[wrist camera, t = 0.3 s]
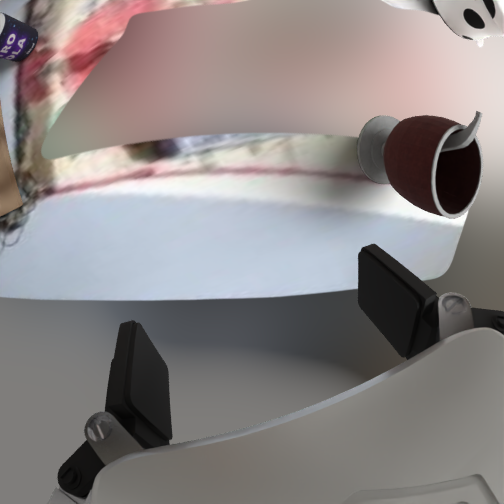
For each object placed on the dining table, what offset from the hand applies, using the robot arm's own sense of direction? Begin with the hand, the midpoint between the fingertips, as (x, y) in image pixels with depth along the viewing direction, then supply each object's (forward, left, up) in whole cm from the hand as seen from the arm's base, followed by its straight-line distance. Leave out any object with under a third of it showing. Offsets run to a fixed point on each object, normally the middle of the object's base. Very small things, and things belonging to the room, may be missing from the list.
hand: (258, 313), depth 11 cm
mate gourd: (0, +31, -31) cm, 44 cm away
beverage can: (-29, -23, -31) cm, 48 cm away
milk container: (-34, +57, -31) cm, 73 cm away
